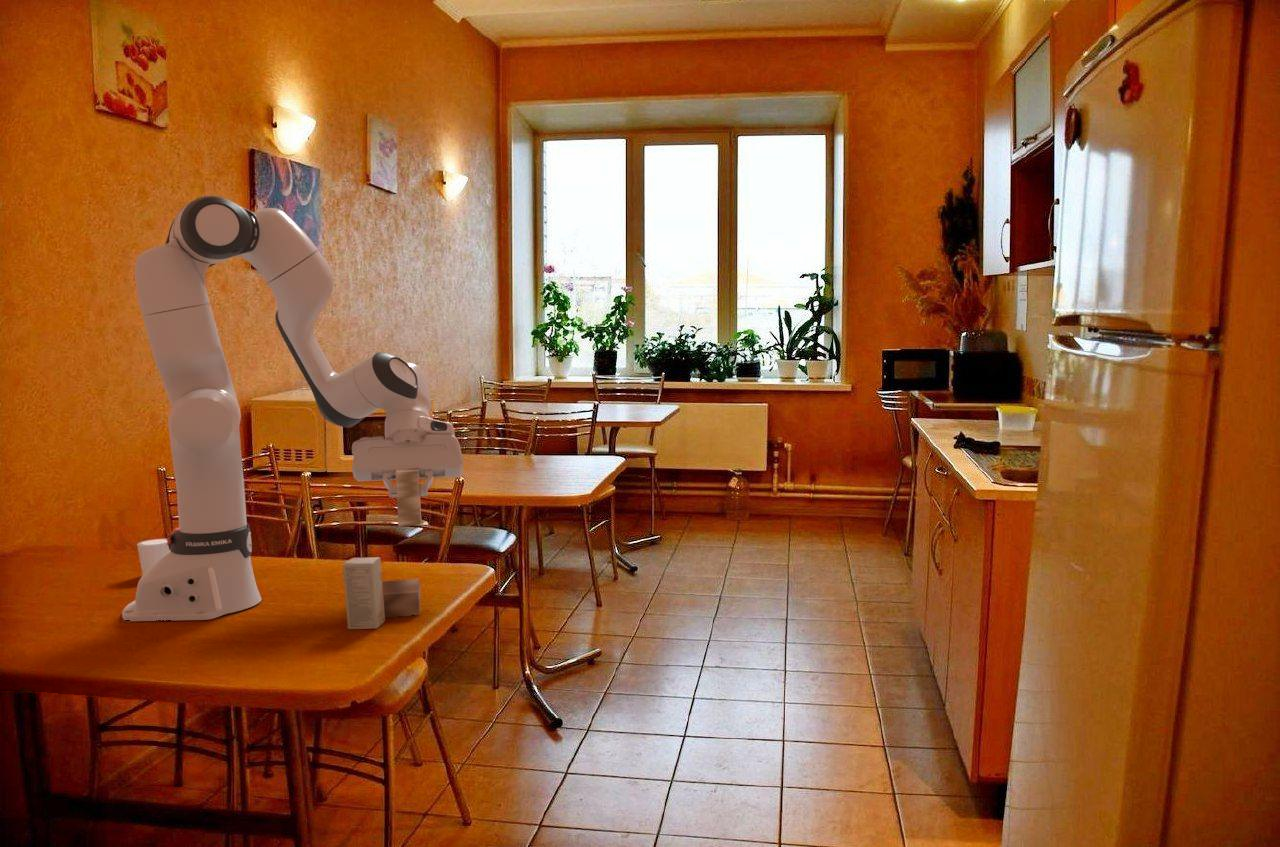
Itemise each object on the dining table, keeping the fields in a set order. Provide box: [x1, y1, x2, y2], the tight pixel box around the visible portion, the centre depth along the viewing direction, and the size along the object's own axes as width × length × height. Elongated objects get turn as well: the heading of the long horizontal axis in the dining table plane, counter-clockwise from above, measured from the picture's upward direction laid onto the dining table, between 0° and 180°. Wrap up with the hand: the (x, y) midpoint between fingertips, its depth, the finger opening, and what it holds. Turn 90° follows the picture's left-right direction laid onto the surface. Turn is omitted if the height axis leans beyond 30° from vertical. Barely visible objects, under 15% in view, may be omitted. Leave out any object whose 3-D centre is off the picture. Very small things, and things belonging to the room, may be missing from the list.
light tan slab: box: [382, 578, 422, 618], centre depth 174 cm, size 9×9×4 cm
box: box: [342, 556, 386, 630], centre depth 165 cm, size 5×4×11 cm
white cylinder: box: [136, 537, 170, 576], centre depth 201 cm, size 7×7×7 cm
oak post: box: [395, 468, 422, 527], centre depth 184 cm, size 4×4×10 cm
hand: (408, 495), depth 184 cm, fingers closed on oak post, 4 cm apart
